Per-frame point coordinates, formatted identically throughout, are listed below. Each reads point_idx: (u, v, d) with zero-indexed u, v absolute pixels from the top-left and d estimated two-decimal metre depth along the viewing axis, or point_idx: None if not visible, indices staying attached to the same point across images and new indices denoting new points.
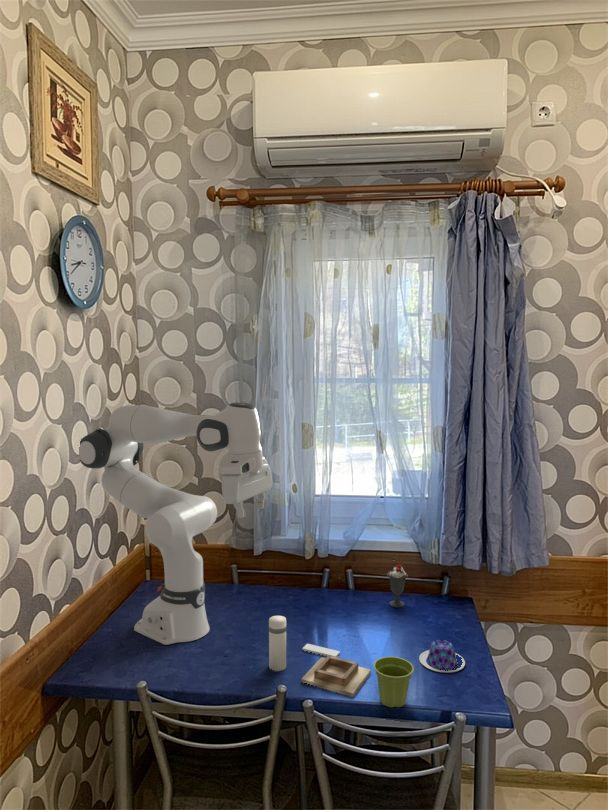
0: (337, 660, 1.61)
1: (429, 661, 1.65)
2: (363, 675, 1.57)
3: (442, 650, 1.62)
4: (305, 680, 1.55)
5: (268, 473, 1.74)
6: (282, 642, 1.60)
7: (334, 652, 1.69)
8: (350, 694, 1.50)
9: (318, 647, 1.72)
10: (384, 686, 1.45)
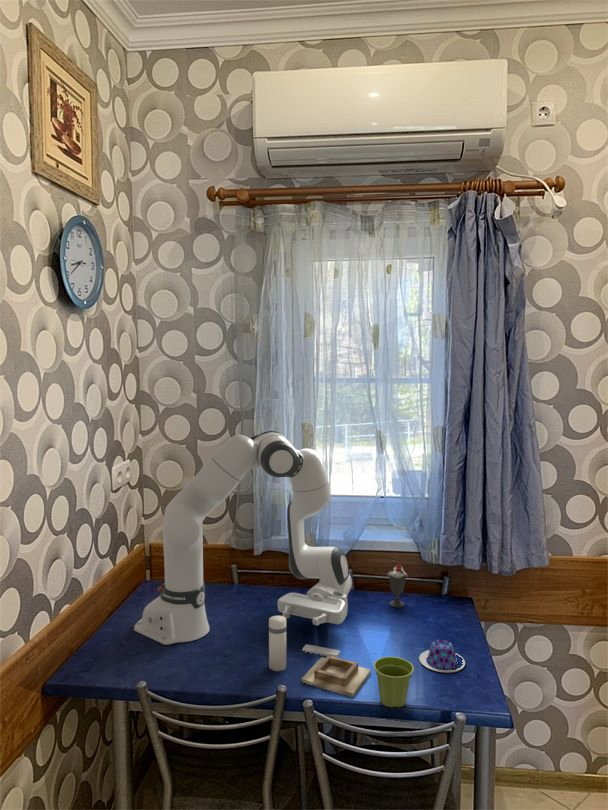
0: (337, 660, 1.61)
1: (429, 661, 1.64)
2: (363, 675, 1.57)
3: (443, 650, 1.62)
4: (305, 680, 1.55)
5: None
6: (282, 642, 1.60)
7: (335, 651, 1.69)
8: (350, 694, 1.50)
9: (318, 647, 1.72)
10: (384, 686, 1.45)
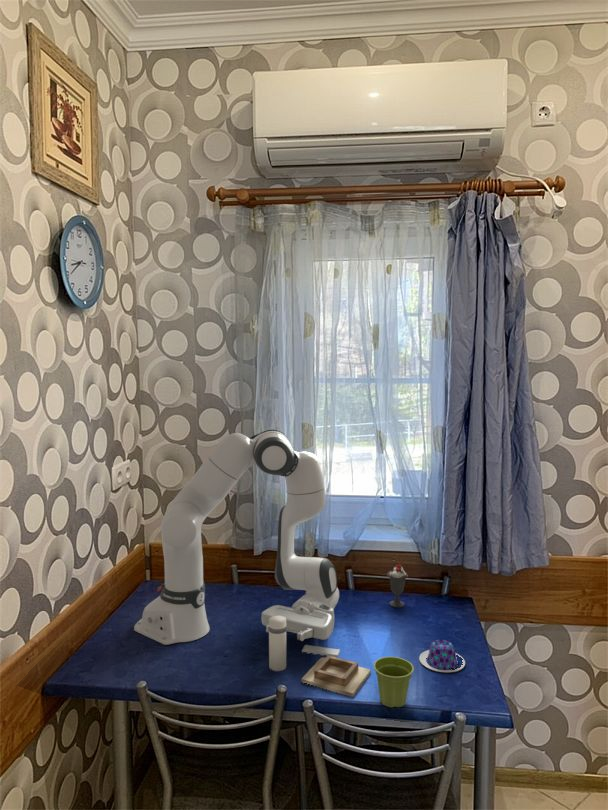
0: (337, 660, 1.61)
1: (430, 661, 1.64)
2: (363, 675, 1.57)
3: (443, 650, 1.62)
4: (305, 680, 1.55)
5: None
6: (282, 642, 1.60)
7: (335, 651, 1.70)
8: (350, 694, 1.50)
9: (317, 647, 1.72)
10: (384, 686, 1.45)
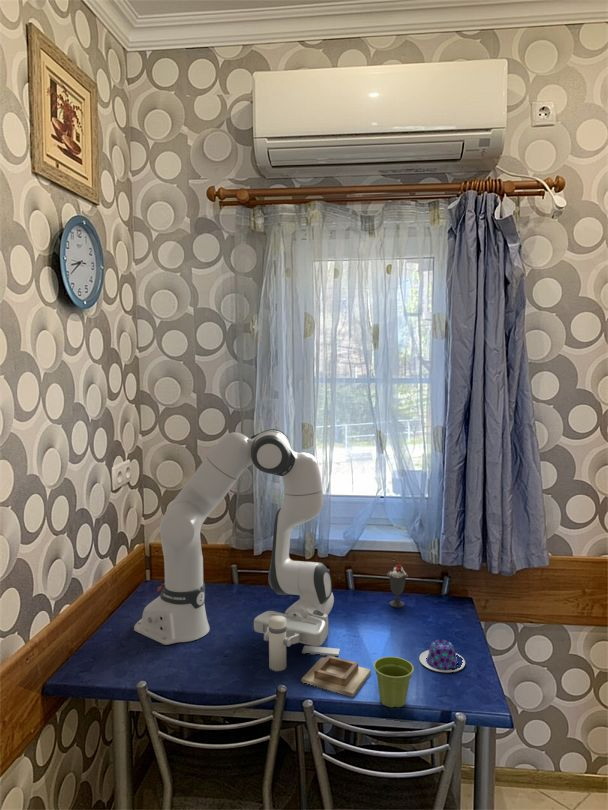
0: (337, 660, 1.61)
1: (430, 662, 1.64)
2: (363, 675, 1.57)
3: (444, 650, 1.62)
4: (305, 680, 1.55)
5: None
6: (282, 642, 1.60)
7: (335, 650, 1.70)
8: (350, 694, 1.50)
9: (317, 647, 1.72)
10: (384, 686, 1.45)
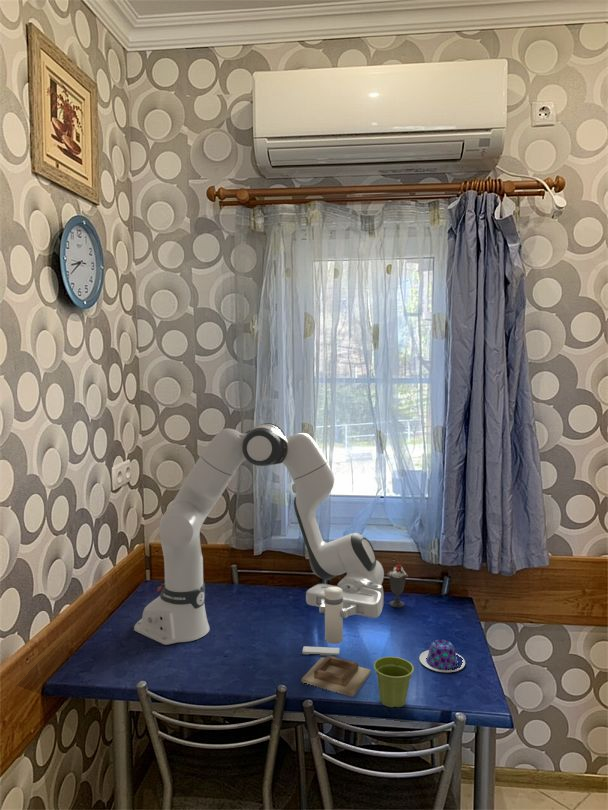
0: (337, 660, 1.61)
1: (430, 662, 1.64)
2: (363, 675, 1.57)
3: (444, 650, 1.62)
4: (305, 680, 1.55)
5: None
6: (338, 614, 1.54)
7: (335, 649, 1.70)
8: (350, 694, 1.50)
9: (317, 648, 1.72)
10: (384, 686, 1.45)
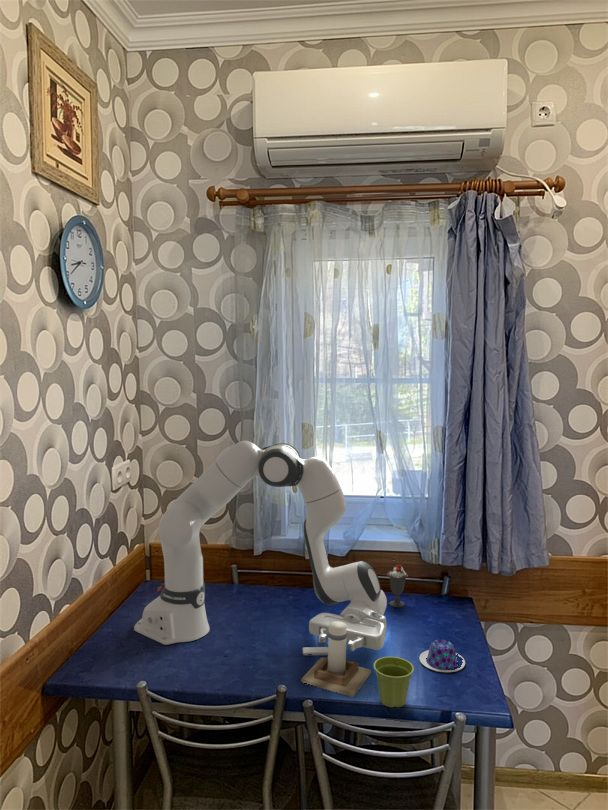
0: None
1: (431, 662, 1.64)
2: (363, 675, 1.57)
3: (445, 650, 1.62)
4: (305, 680, 1.55)
5: None
6: (342, 649, 1.55)
7: None
8: (350, 694, 1.50)
9: (316, 648, 1.71)
10: (384, 686, 1.45)
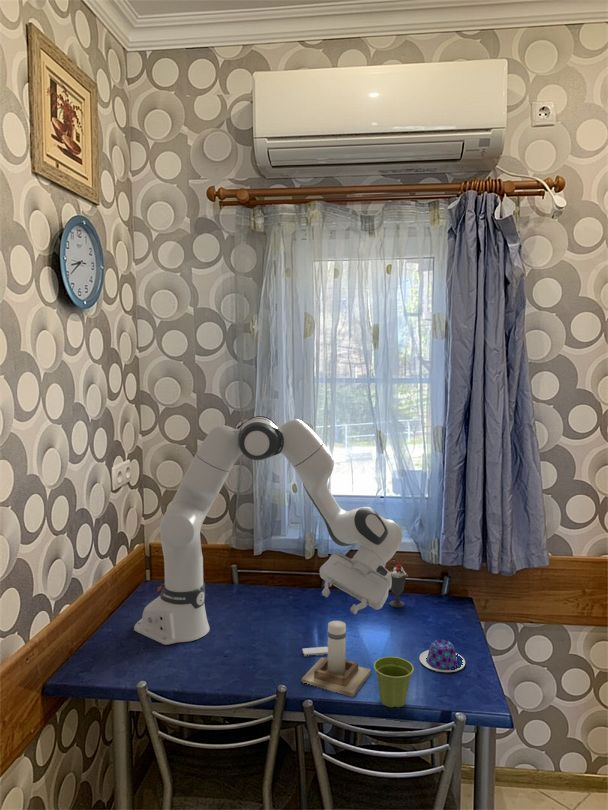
0: None
1: (432, 663, 1.64)
2: (363, 675, 1.57)
3: (446, 650, 1.62)
4: (305, 680, 1.55)
5: None
6: (342, 649, 1.55)
7: None
8: (350, 694, 1.50)
9: (316, 648, 1.71)
10: (384, 686, 1.45)
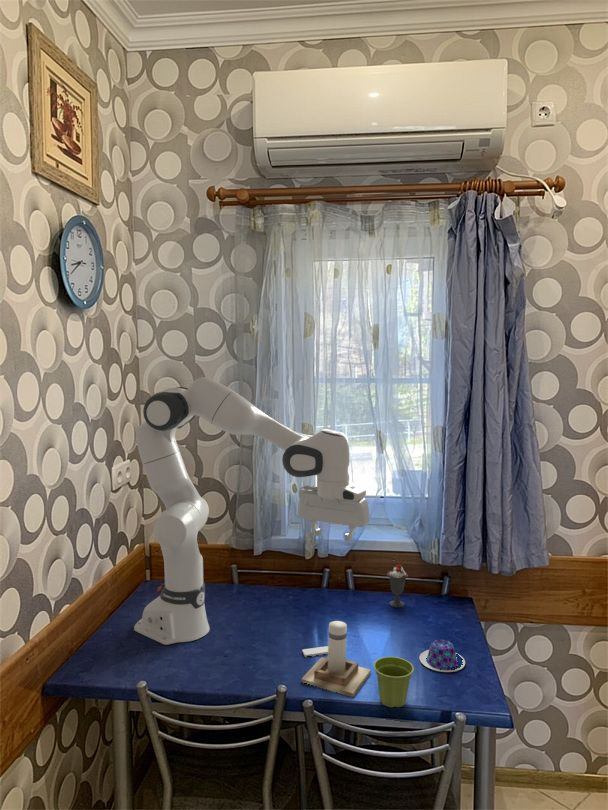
0: None
1: (432, 663, 1.64)
2: (363, 675, 1.57)
3: (446, 650, 1.63)
4: (305, 680, 1.55)
5: None
6: (342, 649, 1.55)
7: None
8: (350, 694, 1.50)
9: (316, 648, 1.71)
10: (384, 686, 1.45)
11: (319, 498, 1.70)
